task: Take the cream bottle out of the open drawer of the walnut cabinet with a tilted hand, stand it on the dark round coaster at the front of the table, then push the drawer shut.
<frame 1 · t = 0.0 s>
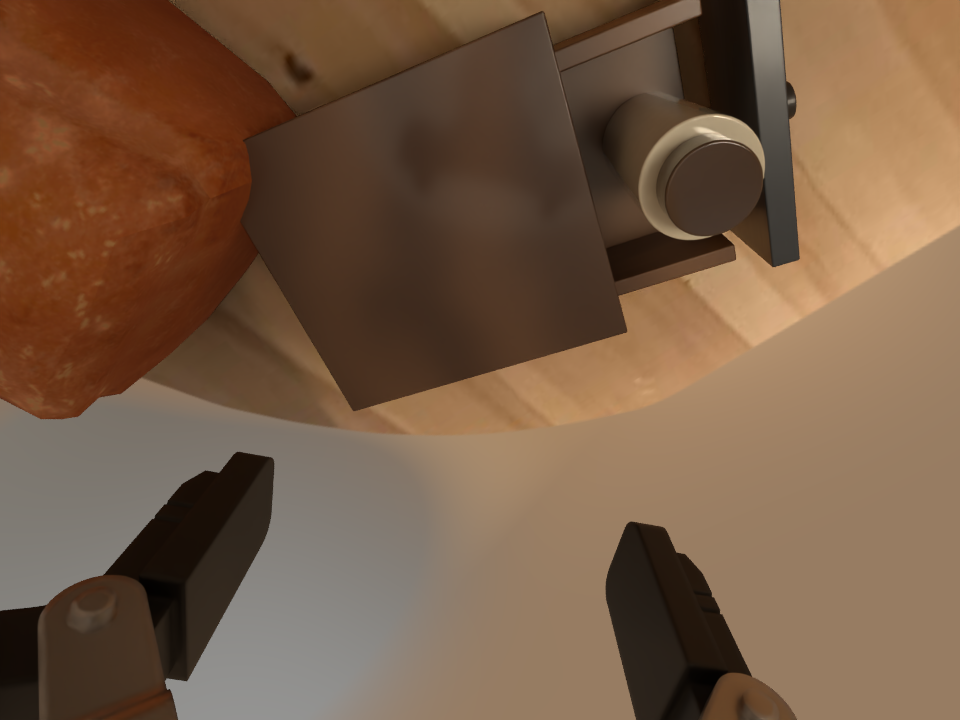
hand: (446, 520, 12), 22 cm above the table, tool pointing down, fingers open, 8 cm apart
bread: (62, 102, 29), on the table, touching cabinet
cabinet: (446, 204, 31), on the table
drawer: (622, 159, 25), point 4 cm above the table, slide at 7.0 cm, touching cream bottle
cream bottle: (647, 141, 27), point 2 cm above the table, touching drawer
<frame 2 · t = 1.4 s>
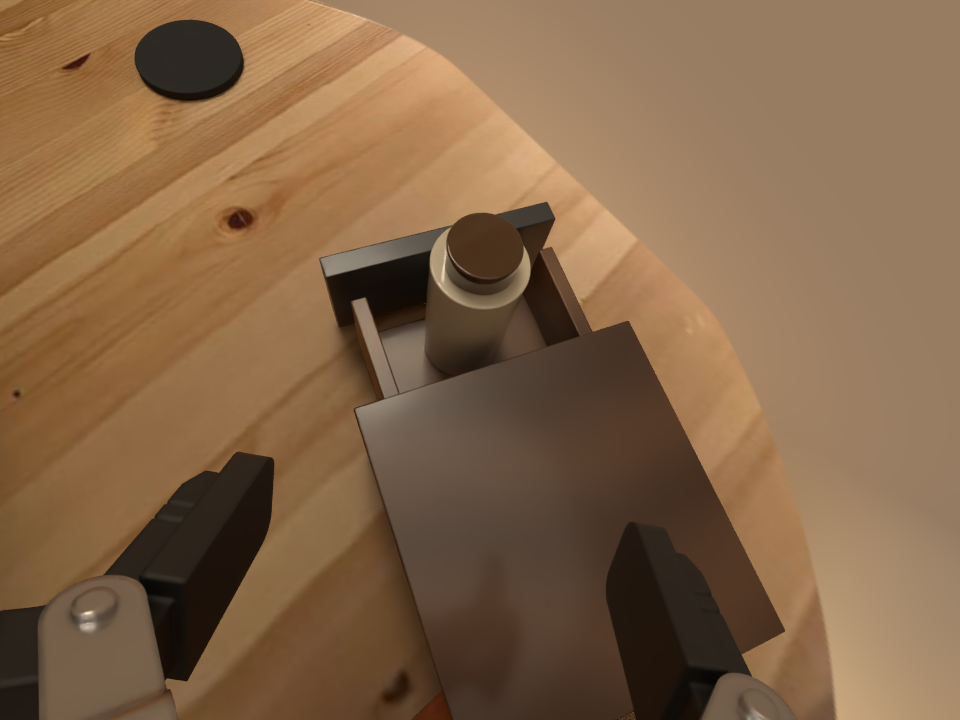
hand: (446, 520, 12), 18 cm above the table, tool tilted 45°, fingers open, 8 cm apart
coaster: (191, 62, 38), on the table
cabinet: (526, 529, 30), on the table
drawer: (474, 353, 29), point 4 cm above the table, slide at 7.0 cm, touching cream bottle
cream bottle: (461, 341, 31), point 2 cm above the table, touching drawer
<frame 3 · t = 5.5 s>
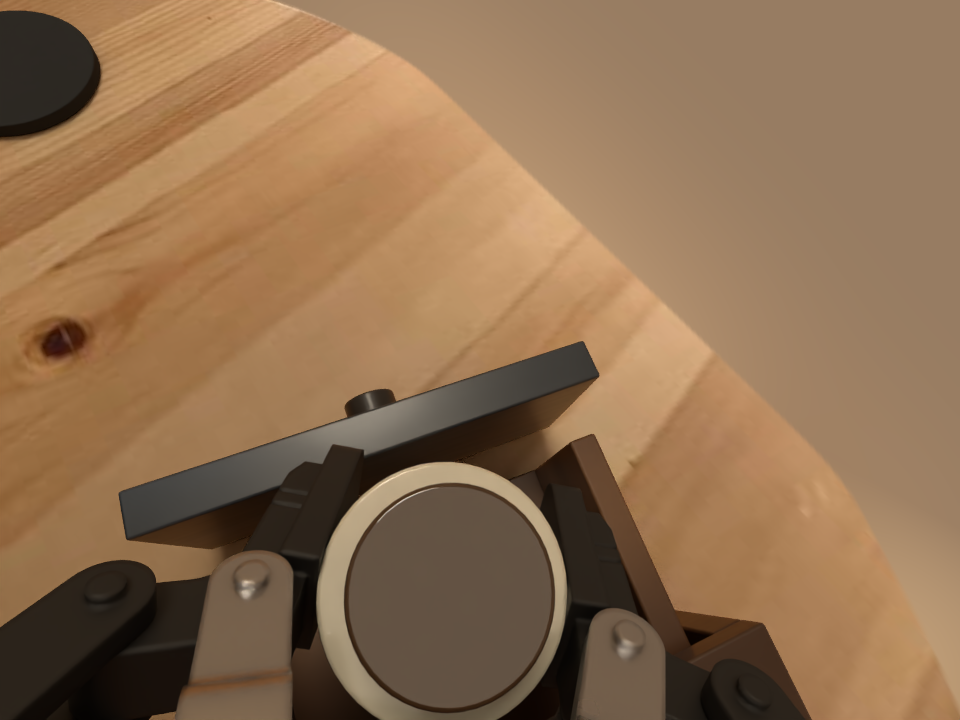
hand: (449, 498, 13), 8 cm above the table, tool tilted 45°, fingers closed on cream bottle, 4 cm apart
coaster: (16, 76, 25), on the table
drawer: (447, 637, 15), point 4 cm above the table, slide at 7.0 cm, touching cream bottle
cream bottle: (426, 579, 17), point 2 cm above the table, touching drawer, gripper
when the fingers open (6 cm above the table, at t = 16.2 s): cream bottle stays where it is, resting on coaster.
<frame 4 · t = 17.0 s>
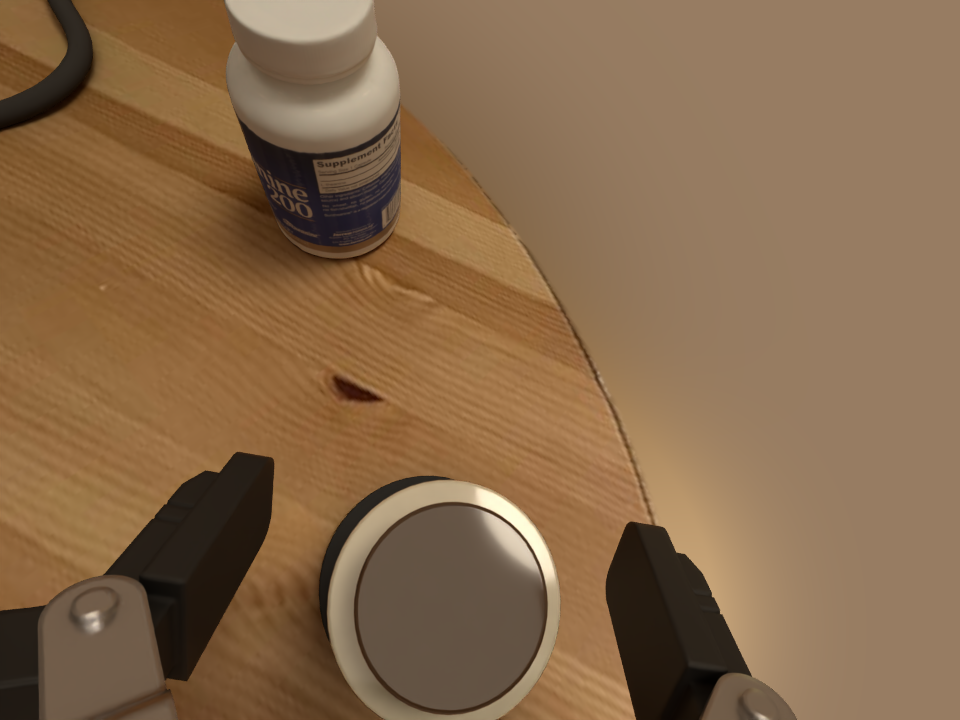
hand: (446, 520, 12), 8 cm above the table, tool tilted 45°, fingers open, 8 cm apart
coaster: (425, 580, 19), on the table
pill bottle: (339, 213, 24), on the table
cream bottle: (429, 586, 18), point 1 cm above the table, touching coaster
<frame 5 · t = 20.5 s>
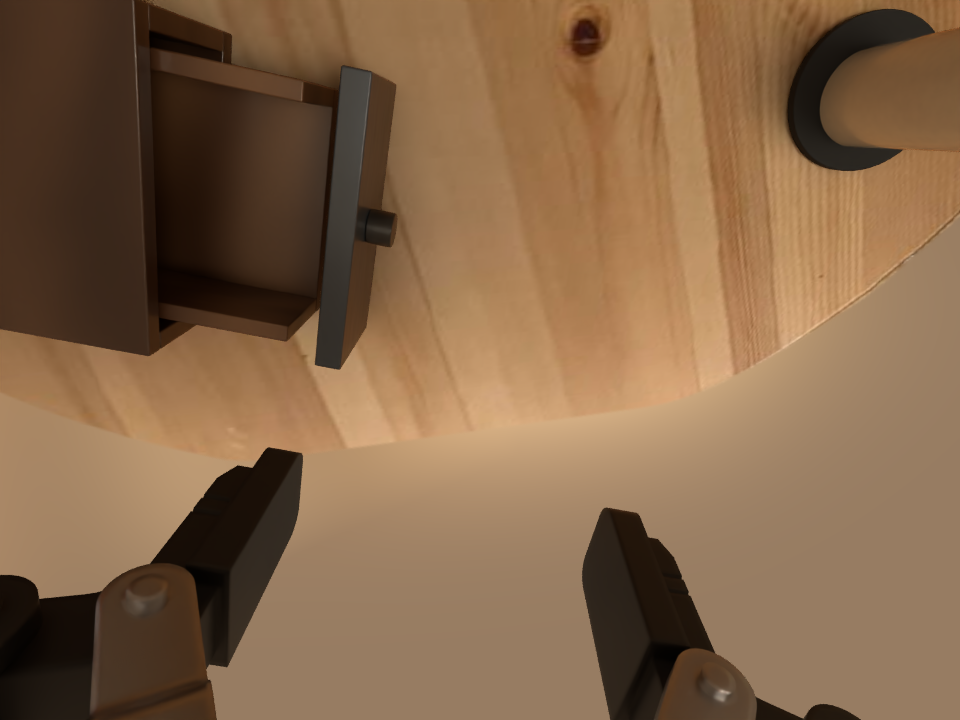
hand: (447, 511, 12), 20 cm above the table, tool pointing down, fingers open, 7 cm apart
coaster: (860, 94, 27), on the table
cabinet: (85, 153, 28), on the table
drawer: (236, 198, 25), point 4 cm above the table, slide at 7.0 cm
cream bottle: (866, 98, 26), point 1 cm above the table, touching coaster
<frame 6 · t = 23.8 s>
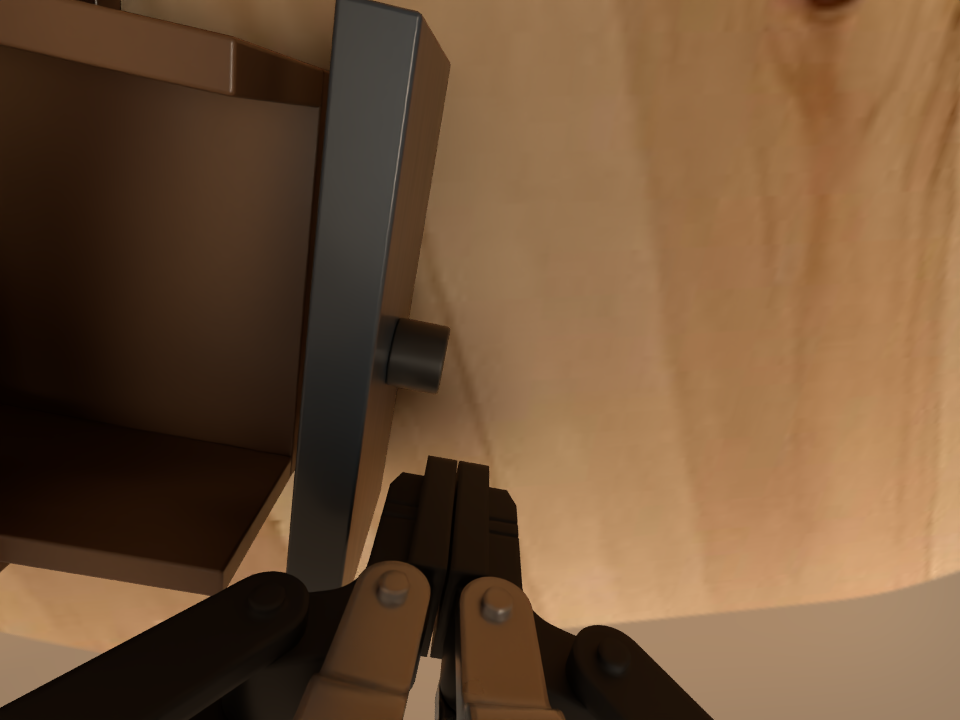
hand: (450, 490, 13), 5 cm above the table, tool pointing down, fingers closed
drawer: (118, 296, 12), point 4 cm above the table, slide at 7.0 cm, touching gripper
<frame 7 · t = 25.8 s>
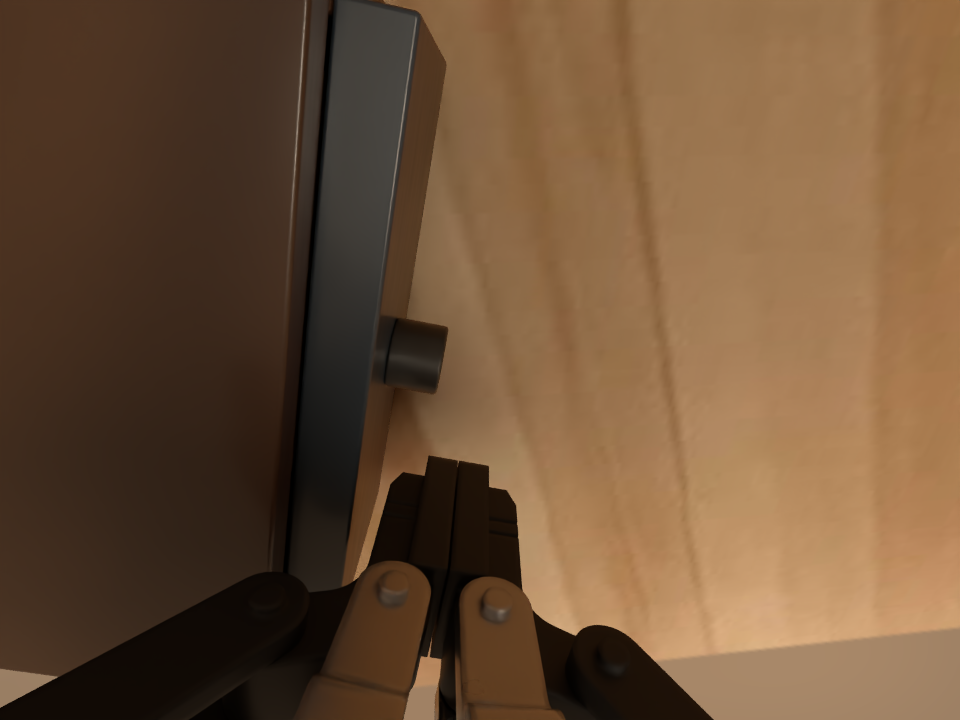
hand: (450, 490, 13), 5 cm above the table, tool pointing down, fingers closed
cabinet: (112, 242, 15), on the table
drawer: (113, 298, 12), point 4 cm above the table, slide at 0.0 cm, touching cabinet, gripper
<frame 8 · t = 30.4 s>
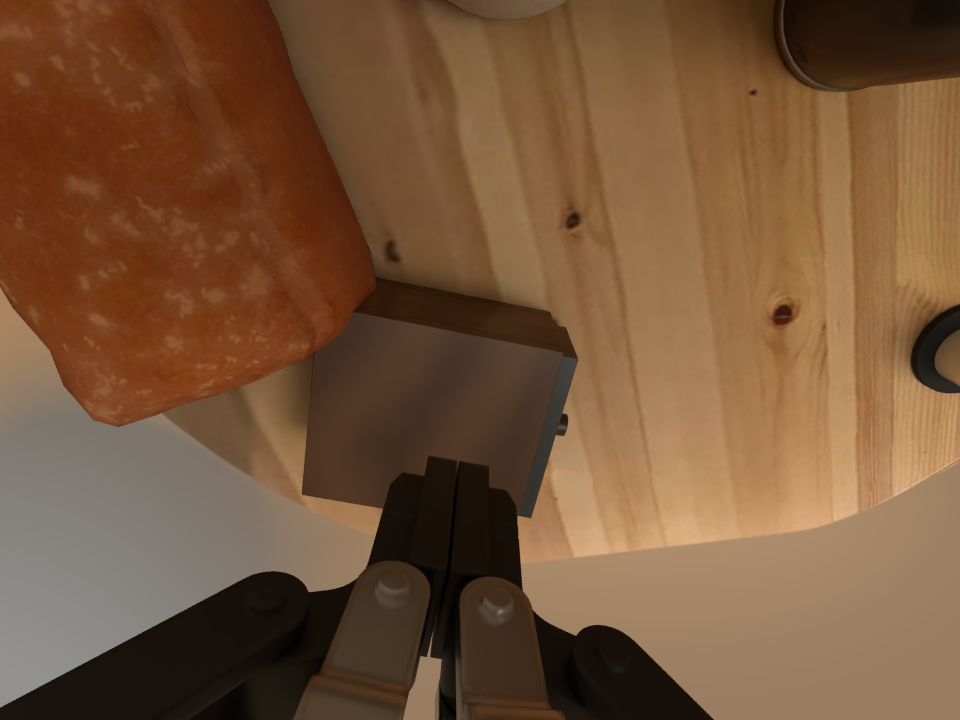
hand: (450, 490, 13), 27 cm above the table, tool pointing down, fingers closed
bread: (209, 169, 36), on the table, touching cabinet
cabinet: (435, 377, 42), on the table
drawer: (463, 406, 38), point 4 cm above the table, slide at 0.0 cm
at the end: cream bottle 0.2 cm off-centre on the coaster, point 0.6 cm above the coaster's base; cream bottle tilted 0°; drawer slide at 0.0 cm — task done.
